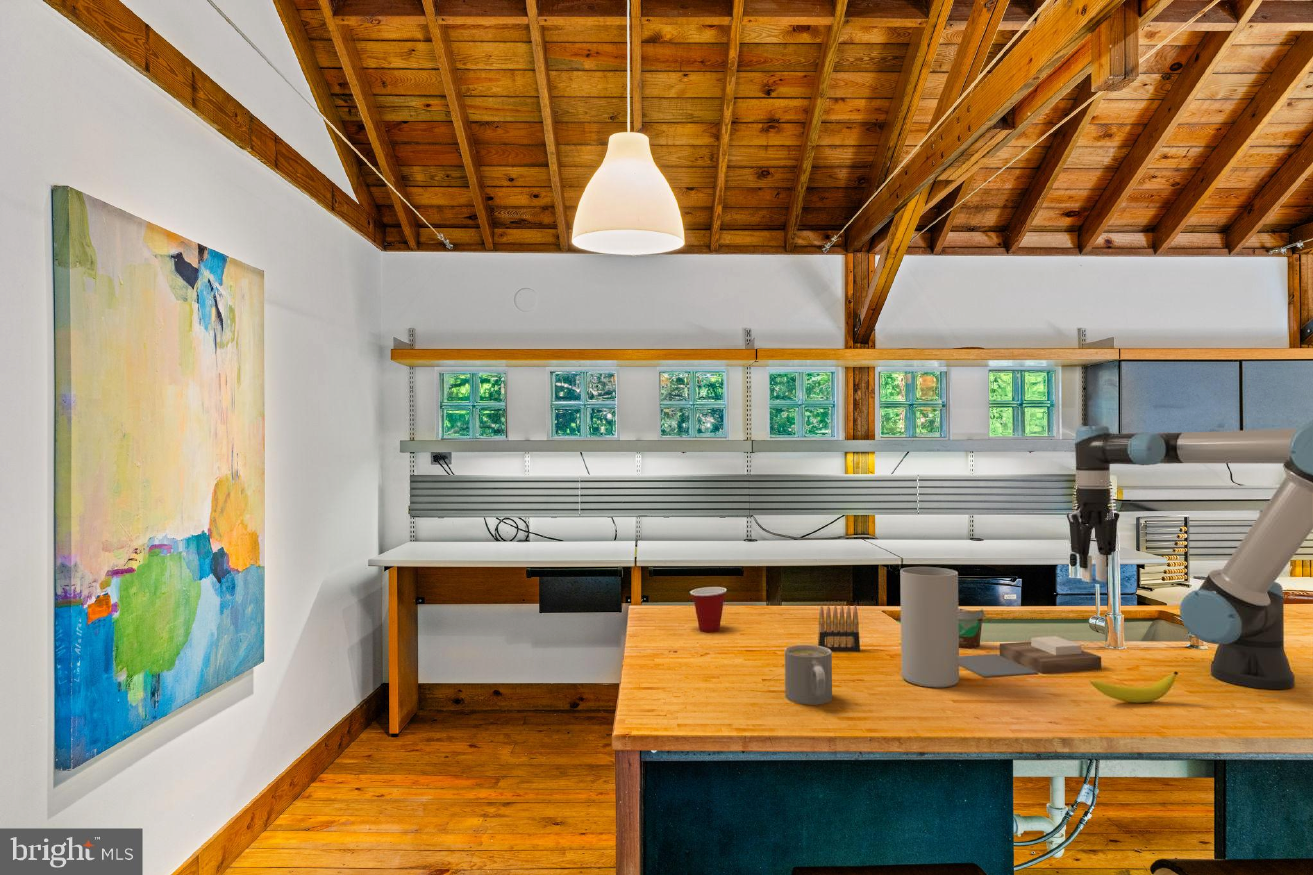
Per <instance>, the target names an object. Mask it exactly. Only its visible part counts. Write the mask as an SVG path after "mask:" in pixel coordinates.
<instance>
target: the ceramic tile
mask: <svg viewBox="0 0 1313 875" xmlns="http://www.w3.org/2000/svg"><path fill="white" fill-rule="evenodd" d="M1030 642H1031V646H1033V647H1036V648H1039V649H1041V650H1044V651H1046V652H1049V653H1051V654H1054V655H1066V654H1081V650H1082V644H1078V643H1076V642H1073V641H1071V640H1068V639H1065V638H1063V637H1062V638H1061V637H1059V636H1056V635H1055V636H1054V635H1053V636H1038V637H1031V638H1030Z"/></svg>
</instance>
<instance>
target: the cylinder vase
mask: <svg viewBox="0 0 1313 875" xmlns="http://www.w3.org/2000/svg"><path fill="white" fill-rule="evenodd" d="M899 573H900V574H899V575H900V576H899V577H900V584H899V585H900V646H901V647H900V648H901V649H900V651H901V652H900V656H901V658H900V659H901V660H900V662H901V666H900V667H901V668H900V669H901V676H902V678H903V679H904V680H905V681H906V682H908V683H910V684H913V685H915V686H920V687H926V688H938V689H939V688H941V689H942V688H948V687H953V686H955V685H957V684H958V683H959V681H960V666H959V656H960V648H959V624H958V609H959V573H958V571H956V570H954V569H949V568H942V567H933V566H931V567H930V566H913V567H912V566H911V567H904V568H901V569H900V572H899Z"/></svg>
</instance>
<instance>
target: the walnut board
mask: <svg viewBox="0 0 1313 875" xmlns="http://www.w3.org/2000/svg"><path fill="white" fill-rule="evenodd" d="M999 655H1000V656H1002V657H1004V658H1006V659H1009V660H1011V661H1013V662H1016V663H1018V664H1020V665H1023V666H1025V667H1027V668H1029V669H1032V670H1034V671H1036V672H1038V674H1041V675H1042V674H1053V673H1055V674H1056V673H1066V672H1068V673H1069V672H1081V671H1083V672H1085V671H1098V670H1102V656H1099V655H1097V654H1094V653H1092V652H1089V651H1086V650H1083V649H1081V654H1066V655H1054V654H1051V653H1049V652H1046V651H1044V650H1041V649H1039V648H1036V647H1033V646H1031V641H1022V642H1005V643H1004V642H1003V643H999Z"/></svg>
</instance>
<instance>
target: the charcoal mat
mask: <svg viewBox="0 0 1313 875" xmlns="http://www.w3.org/2000/svg"><path fill="white" fill-rule="evenodd" d="M959 667H961V668H964V669H966V670H967V671H970V673H971V672H972V673H974V675H975V674H976V675H978V676H980V677H982V678H984V679H985V678H998V677H1012V676H1025V675H1026V676H1028V675H1038V674H1039V672H1037V671H1035V670H1032V669H1030V668H1028V667H1025V666H1023V665H1021V664H1018V663H1016V662H1014V661H1012V660H1009V659H1007V658H1005V657H1002V656H1000V654H996V653H991V654H975V655H961V656H960V655H959Z"/></svg>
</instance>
